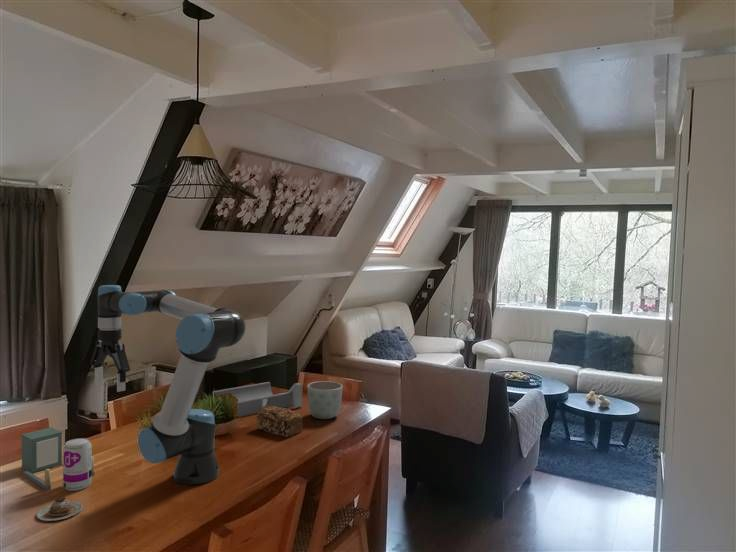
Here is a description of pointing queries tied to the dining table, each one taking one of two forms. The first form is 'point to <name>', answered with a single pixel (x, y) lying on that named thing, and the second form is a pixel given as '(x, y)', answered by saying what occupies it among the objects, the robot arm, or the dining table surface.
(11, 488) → the dining table surface
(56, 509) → the pastry
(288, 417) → the bread
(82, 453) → the supplement can
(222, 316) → the robot arm
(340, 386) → the planter
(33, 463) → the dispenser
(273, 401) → the grey channel bracket
